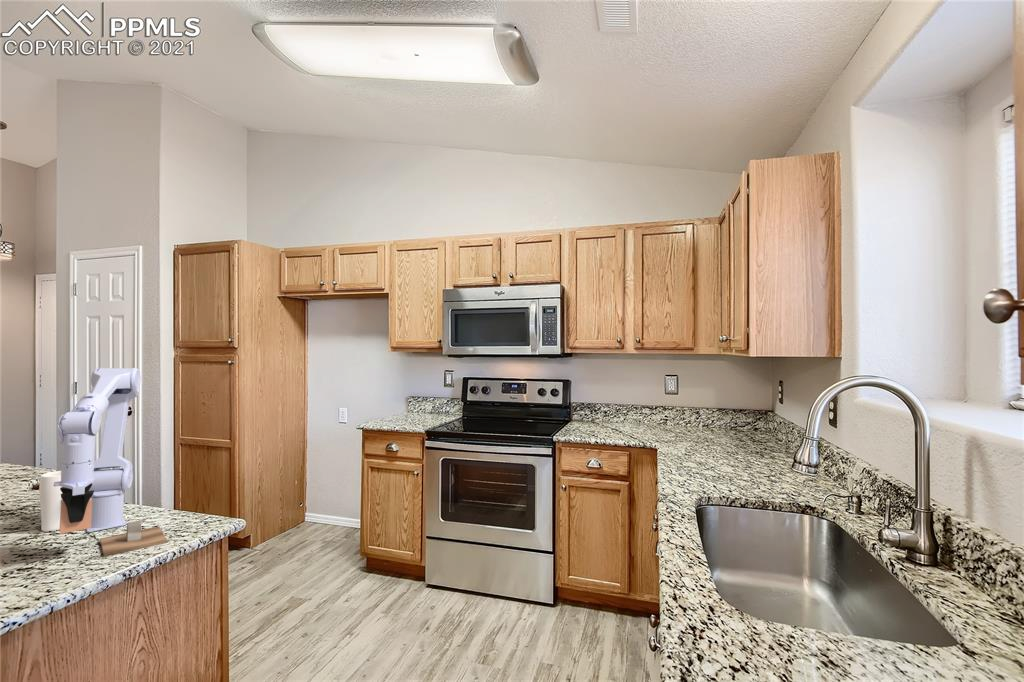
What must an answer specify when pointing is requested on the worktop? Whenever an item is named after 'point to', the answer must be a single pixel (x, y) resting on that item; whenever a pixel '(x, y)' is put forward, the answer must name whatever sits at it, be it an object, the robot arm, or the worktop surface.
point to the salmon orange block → (70, 527)
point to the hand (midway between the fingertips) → (75, 518)
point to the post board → (132, 545)
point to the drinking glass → (50, 501)
